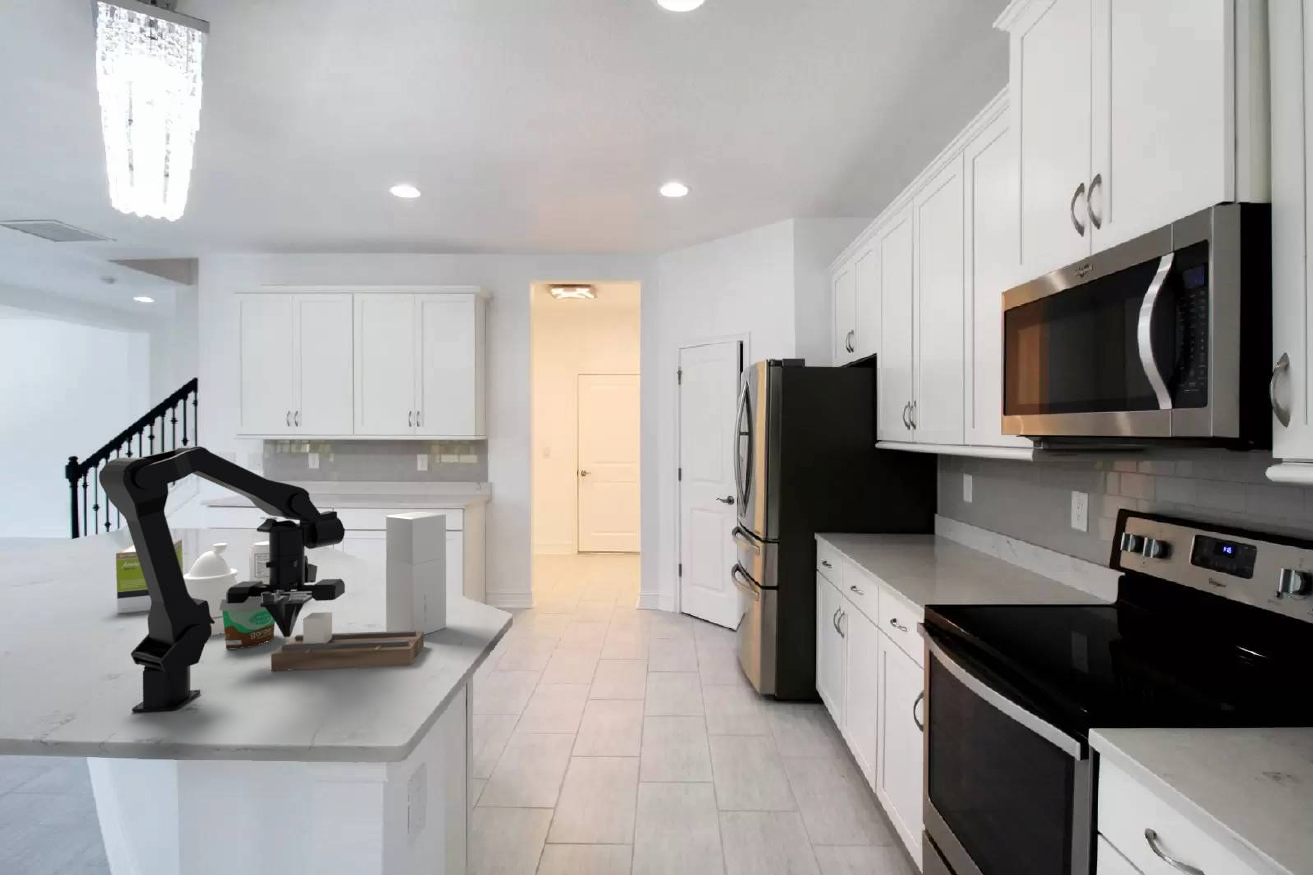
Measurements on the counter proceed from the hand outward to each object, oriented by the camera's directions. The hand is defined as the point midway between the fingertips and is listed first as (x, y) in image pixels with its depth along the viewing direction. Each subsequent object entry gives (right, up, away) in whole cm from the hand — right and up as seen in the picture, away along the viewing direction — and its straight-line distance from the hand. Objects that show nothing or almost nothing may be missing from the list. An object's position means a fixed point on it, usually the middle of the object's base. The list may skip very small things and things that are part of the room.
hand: (287, 636), depth 118 cm
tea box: (-56, -4, +38) cm, 68 cm away
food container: (-12, -5, +11) cm, 17 cm away
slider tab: (+5, -1, +1) cm, 6 cm away
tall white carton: (+17, -5, +18) cm, 26 cm away
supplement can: (-28, -4, +40) cm, 49 cm away
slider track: (+11, -5, +1) cm, 12 cm away
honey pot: (-28, -5, +19) cm, 35 cm away
